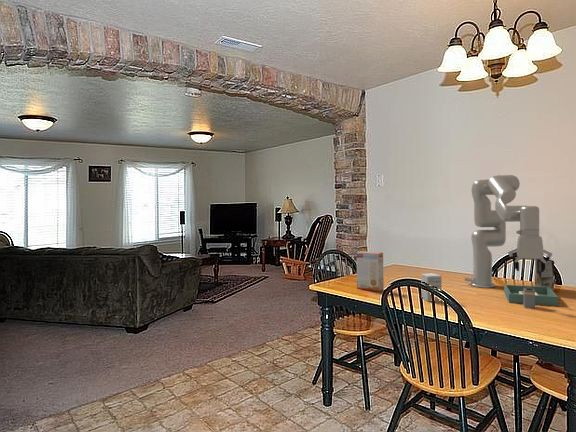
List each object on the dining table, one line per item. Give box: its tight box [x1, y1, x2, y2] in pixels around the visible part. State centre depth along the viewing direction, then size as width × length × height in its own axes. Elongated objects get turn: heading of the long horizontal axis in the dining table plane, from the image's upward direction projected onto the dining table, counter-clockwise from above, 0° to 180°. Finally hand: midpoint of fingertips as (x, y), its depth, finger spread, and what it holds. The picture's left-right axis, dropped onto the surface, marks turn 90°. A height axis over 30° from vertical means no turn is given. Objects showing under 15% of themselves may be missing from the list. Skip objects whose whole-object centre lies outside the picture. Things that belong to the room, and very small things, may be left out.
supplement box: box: [421, 272, 443, 302], centre depth 202 cm, size 7×7×13 cm
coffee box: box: [534, 258, 555, 292], centre depth 220 cm, size 9×6×16 cm
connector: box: [522, 287, 536, 309], centre depth 186 cm, size 4×4×9 cm
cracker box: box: [356, 250, 385, 292], centre depth 227 cm, size 14×6×21 cm, turn 47°
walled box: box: [503, 284, 559, 307], centre depth 201 cm, size 20×22×4 cm
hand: (529, 271), depth 185 cm, fingers open, 9 cm apart
